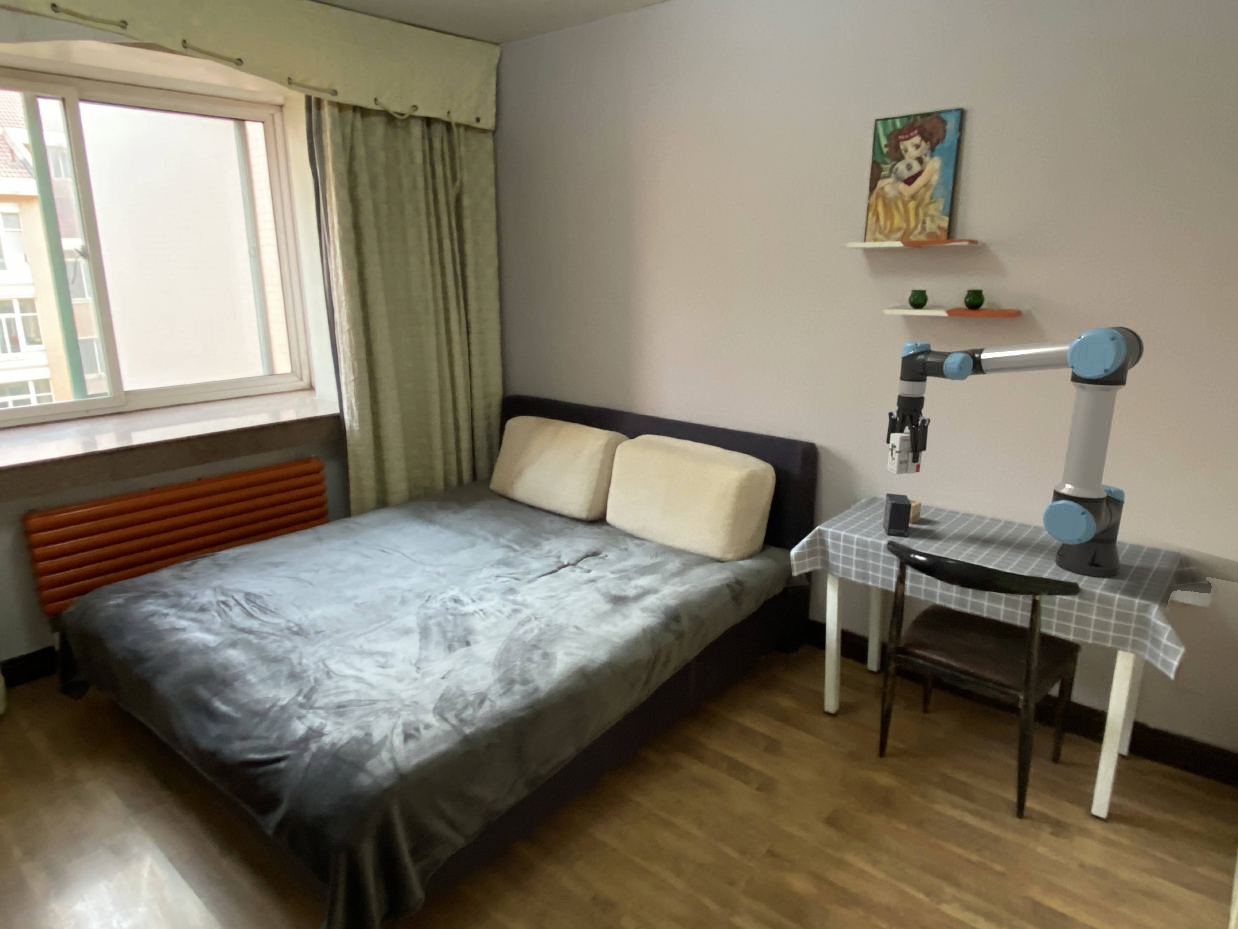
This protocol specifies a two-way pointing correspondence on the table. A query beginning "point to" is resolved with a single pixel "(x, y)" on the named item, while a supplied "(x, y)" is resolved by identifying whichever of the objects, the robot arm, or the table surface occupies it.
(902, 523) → the small box
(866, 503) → the table surface
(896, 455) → the ink box
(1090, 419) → the robot arm
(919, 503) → the oak cube
